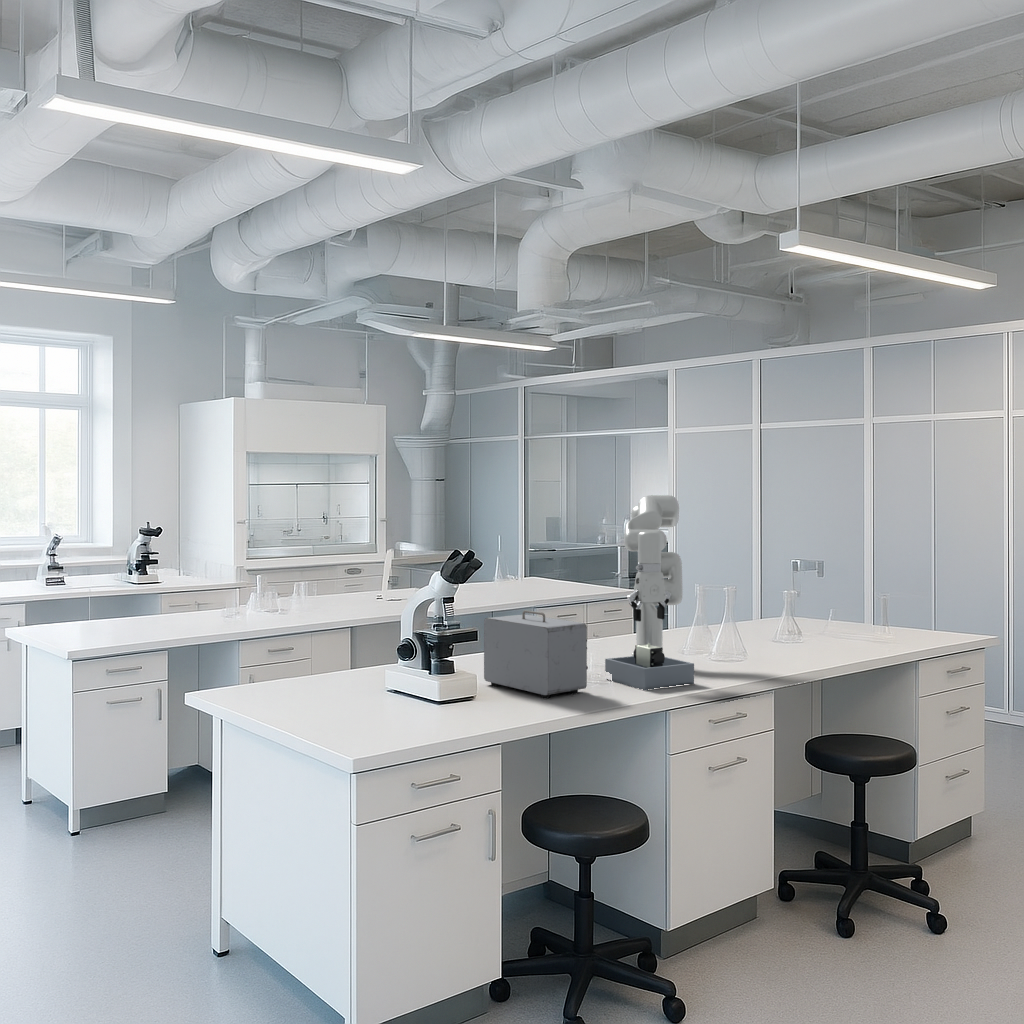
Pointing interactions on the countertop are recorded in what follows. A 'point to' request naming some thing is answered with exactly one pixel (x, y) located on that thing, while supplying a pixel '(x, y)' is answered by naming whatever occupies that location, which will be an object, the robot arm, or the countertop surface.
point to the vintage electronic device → (535, 653)
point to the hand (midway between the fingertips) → (649, 619)
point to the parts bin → (649, 673)
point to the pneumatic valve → (649, 655)
